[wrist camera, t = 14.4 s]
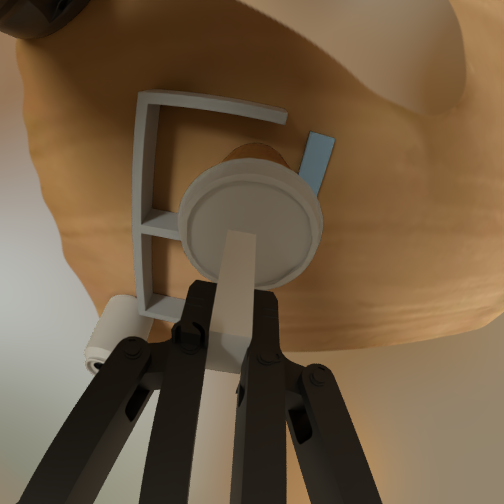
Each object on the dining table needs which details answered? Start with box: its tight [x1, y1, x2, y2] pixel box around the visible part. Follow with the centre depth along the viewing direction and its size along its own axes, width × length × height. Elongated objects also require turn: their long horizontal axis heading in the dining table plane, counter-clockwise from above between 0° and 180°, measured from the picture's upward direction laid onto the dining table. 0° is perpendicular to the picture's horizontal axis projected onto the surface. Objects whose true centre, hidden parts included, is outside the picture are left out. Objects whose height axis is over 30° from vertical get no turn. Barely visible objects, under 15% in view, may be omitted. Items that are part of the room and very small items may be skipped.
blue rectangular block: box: [298, 131, 335, 197], centre depth 27 cm, size 11×2×1 cm, turn 168°
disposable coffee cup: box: [178, 143, 323, 291], centre depth 22 cm, size 10×10×12 cm
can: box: [84, 295, 154, 376], centre depth 35 cm, size 8×8×12 cm
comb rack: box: [132, 89, 288, 323], centre depth 29 cm, size 27×12×4 cm, turn 168°
